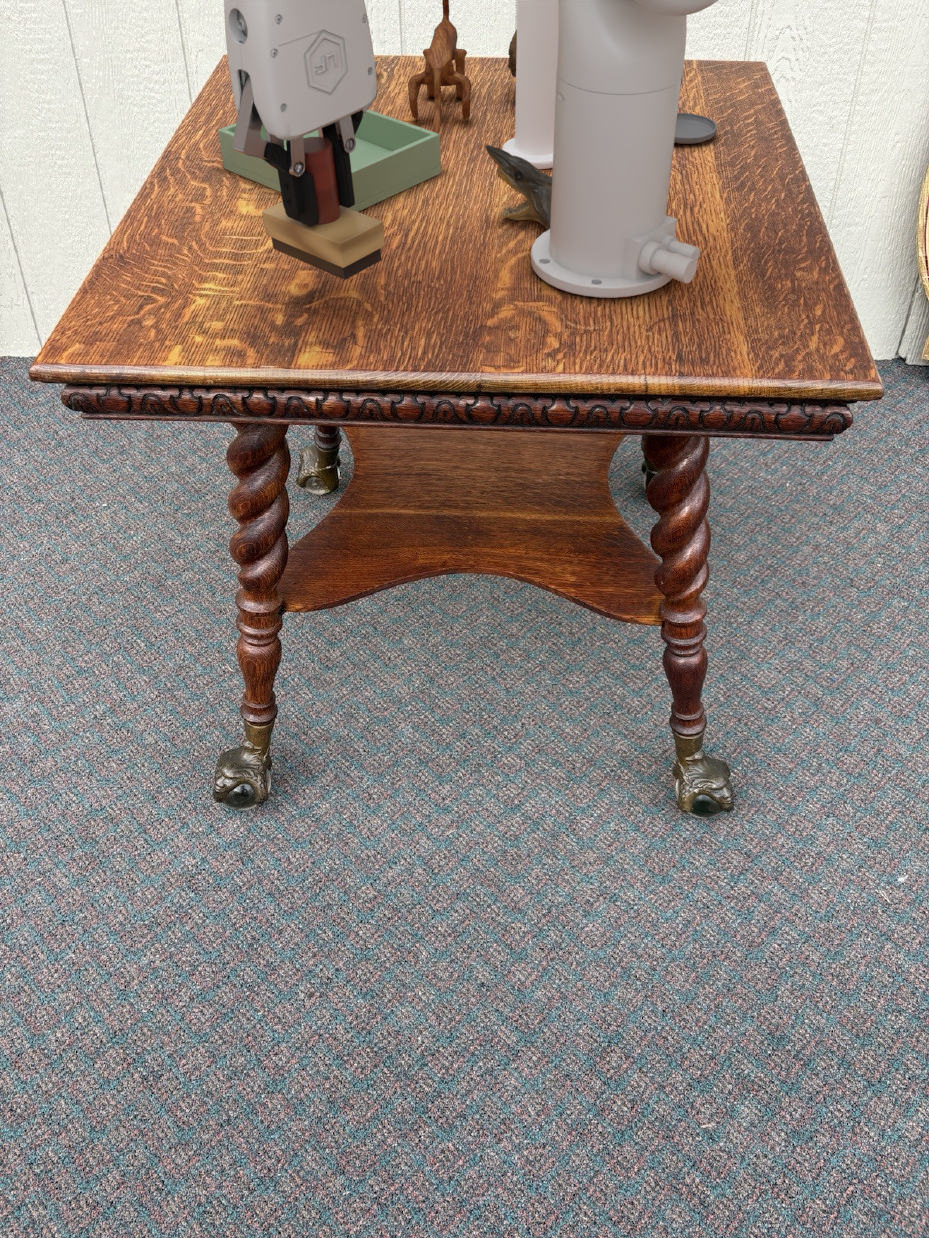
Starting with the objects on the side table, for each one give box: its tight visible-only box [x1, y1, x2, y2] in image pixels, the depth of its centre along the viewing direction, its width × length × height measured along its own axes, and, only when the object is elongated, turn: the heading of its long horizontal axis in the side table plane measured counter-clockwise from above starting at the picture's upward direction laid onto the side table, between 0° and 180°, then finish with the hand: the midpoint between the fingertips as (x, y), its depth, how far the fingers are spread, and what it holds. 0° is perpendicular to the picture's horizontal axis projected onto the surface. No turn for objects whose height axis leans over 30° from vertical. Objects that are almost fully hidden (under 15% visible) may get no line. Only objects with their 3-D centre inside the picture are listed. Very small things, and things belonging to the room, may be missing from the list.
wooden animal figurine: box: [407, 0, 472, 134], centre depth 117 cm, size 18×7×14 cm, turn 176°
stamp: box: [261, 137, 386, 281], centre depth 87 cm, size 9×4×9 cm, turn 48°
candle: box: [501, 0, 559, 170], centre depth 106 cm, size 7×7×25 cm
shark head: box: [484, 144, 552, 231], centre depth 101 cm, size 8×6×7 cm
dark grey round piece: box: [674, 74, 718, 145], centre depth 115 cm, size 8×8×10 cm
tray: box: [217, 108, 442, 213], centre depth 111 cm, size 17×13×4 cm
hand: (320, 209), depth 87 cm, fingers closed on stamp, 3 cm apart
